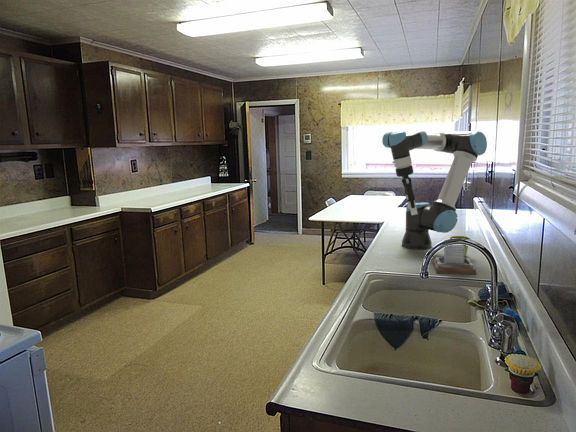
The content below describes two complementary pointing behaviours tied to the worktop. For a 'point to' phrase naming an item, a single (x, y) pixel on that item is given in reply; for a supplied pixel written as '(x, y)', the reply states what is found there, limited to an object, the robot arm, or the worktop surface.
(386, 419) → the worktop surface
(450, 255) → the medicine box
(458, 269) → the walnut stand
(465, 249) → the plant pot
